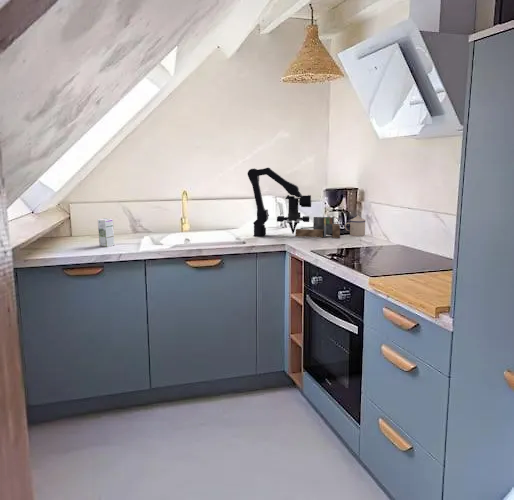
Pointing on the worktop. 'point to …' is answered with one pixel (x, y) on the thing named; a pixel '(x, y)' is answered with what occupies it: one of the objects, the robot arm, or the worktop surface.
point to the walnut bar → (309, 233)
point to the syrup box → (106, 232)
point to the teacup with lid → (357, 226)
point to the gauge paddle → (324, 227)
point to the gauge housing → (327, 226)
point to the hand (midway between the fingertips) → (293, 233)
